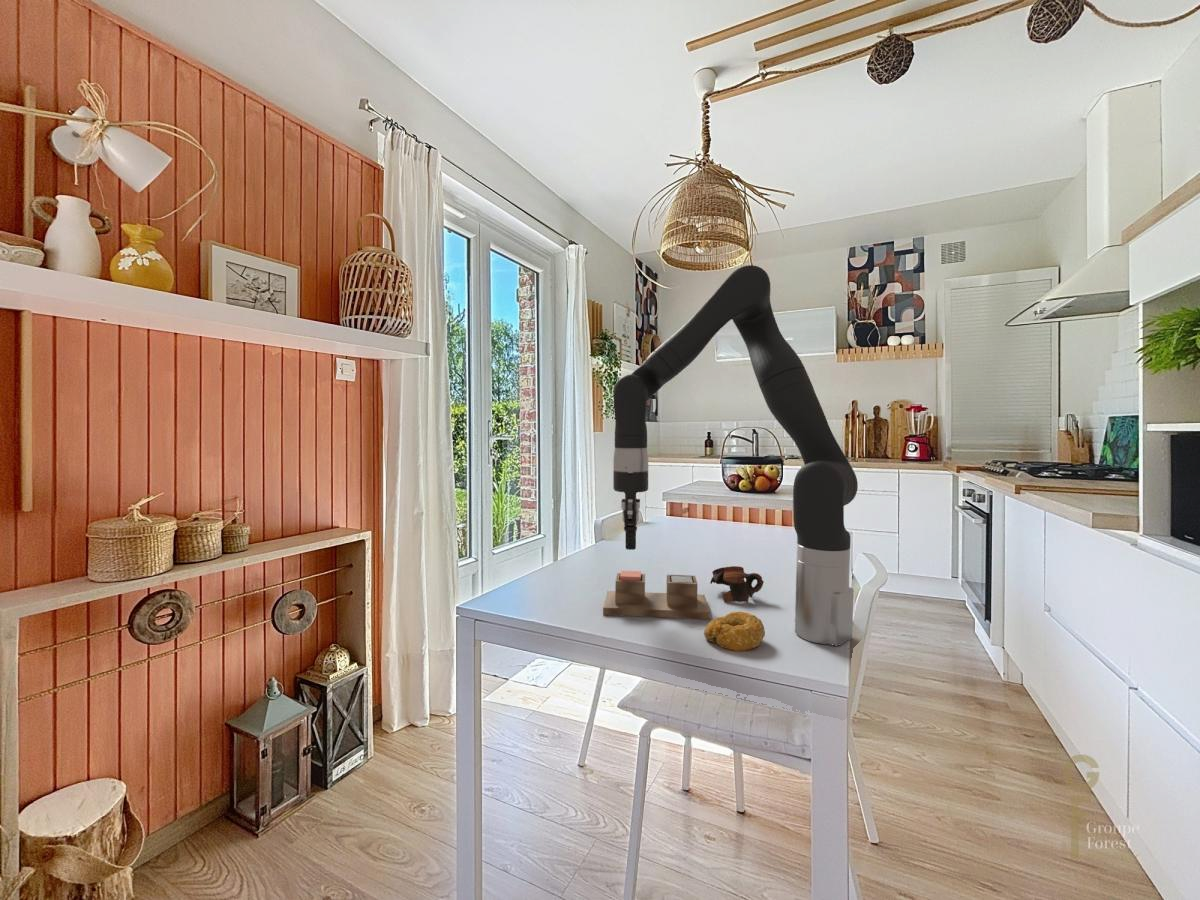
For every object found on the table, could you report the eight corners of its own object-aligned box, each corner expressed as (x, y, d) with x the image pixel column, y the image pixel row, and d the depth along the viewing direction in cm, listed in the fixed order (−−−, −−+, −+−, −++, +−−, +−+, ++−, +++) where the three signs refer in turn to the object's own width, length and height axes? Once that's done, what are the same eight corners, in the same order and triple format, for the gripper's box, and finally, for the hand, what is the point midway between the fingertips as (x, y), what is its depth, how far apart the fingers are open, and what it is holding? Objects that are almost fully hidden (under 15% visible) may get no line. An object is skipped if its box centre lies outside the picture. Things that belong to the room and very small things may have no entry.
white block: (690, 598, 115) (691, 576, 115) (692, 605, 111) (692, 582, 110) (670, 598, 115) (671, 575, 115) (671, 604, 111) (671, 581, 111)
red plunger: (640, 593, 116) (641, 571, 116) (640, 600, 112) (640, 577, 111) (620, 592, 116) (621, 570, 116) (619, 599, 112) (620, 576, 112)
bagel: (707, 627, 103) (707, 604, 103) (765, 635, 99) (766, 611, 99) (699, 647, 94) (699, 621, 94) (763, 657, 90) (764, 630, 90)
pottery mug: (710, 604, 118) (705, 568, 121) (719, 610, 125) (713, 576, 129) (765, 596, 114) (757, 559, 118) (770, 603, 122) (763, 568, 125)
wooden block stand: (704, 601, 118) (704, 572, 118) (709, 619, 107) (710, 587, 107) (607, 597, 120) (607, 569, 120) (603, 614, 109) (603, 583, 109)
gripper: (615, 466, 119) (615, 542, 120) (611, 471, 106) (611, 555, 107) (648, 466, 119) (648, 542, 119) (648, 471, 105) (648, 556, 106)
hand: (630, 548), depth 113 cm, fingers closed
